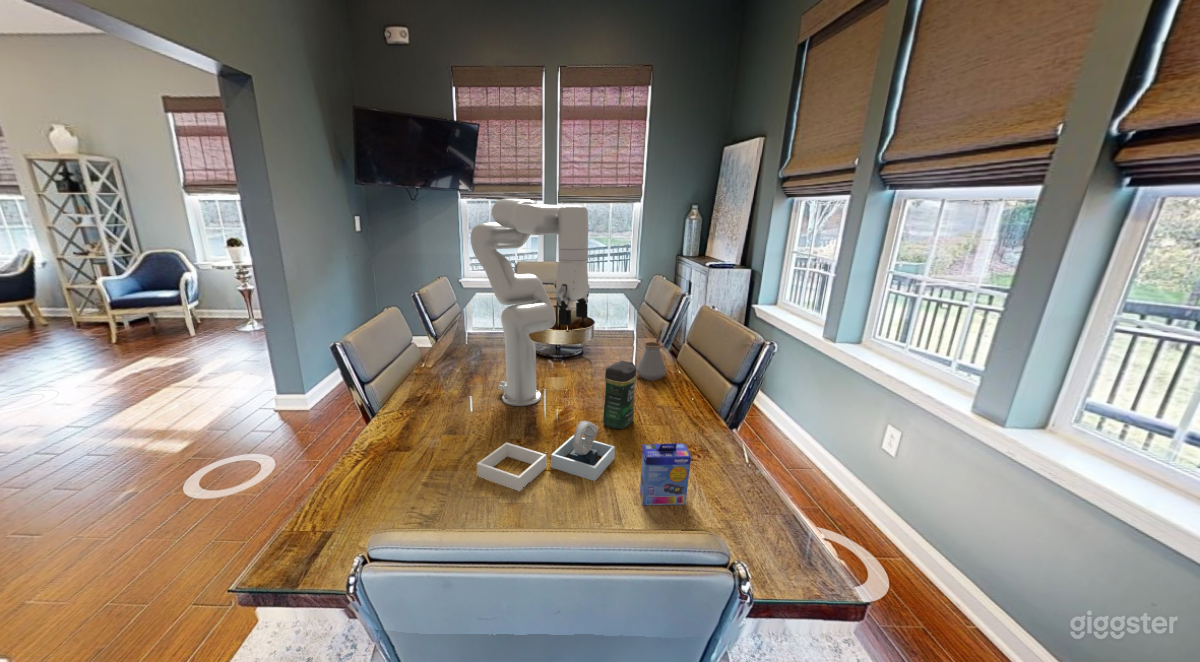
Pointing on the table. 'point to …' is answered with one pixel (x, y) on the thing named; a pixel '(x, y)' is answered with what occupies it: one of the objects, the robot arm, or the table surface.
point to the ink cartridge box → (664, 474)
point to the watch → (584, 451)
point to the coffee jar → (619, 395)
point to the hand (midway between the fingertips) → (573, 320)
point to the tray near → (506, 478)
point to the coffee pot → (652, 361)
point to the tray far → (578, 467)
